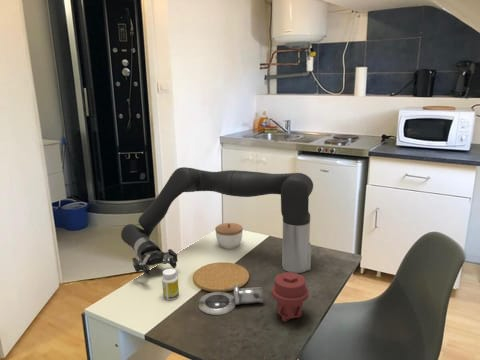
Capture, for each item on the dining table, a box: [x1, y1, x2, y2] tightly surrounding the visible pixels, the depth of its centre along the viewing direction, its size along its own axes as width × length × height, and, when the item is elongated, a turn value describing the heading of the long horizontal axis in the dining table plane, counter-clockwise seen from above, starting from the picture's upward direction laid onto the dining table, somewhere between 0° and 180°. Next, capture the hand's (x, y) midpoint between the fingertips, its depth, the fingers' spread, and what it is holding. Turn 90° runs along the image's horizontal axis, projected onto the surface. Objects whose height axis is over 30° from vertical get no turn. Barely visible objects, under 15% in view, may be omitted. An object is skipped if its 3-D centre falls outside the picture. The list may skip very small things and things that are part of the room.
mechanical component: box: [271, 271, 309, 323], centre depth 107 cm, size 12×10×10 cm
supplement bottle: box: [161, 268, 180, 301], centre depth 118 cm, size 5×5×8 cm
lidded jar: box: [214, 222, 243, 250], centre depth 153 cm, size 11×11×9 cm
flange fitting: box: [198, 284, 264, 316], centre depth 114 cm, size 19×11×6 cm, turn 95°
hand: (162, 268), depth 124 cm, fingers open, 8 cm apart
